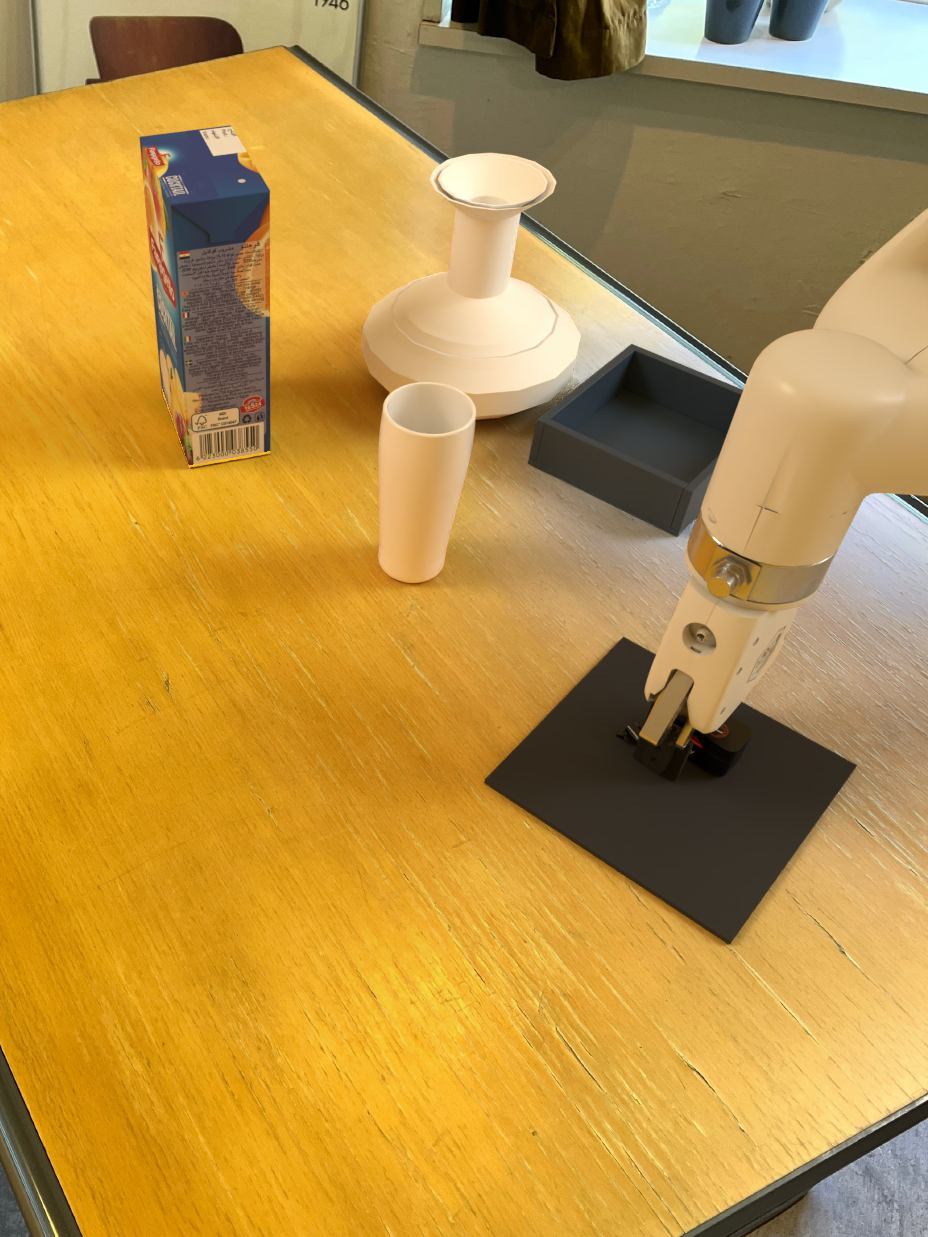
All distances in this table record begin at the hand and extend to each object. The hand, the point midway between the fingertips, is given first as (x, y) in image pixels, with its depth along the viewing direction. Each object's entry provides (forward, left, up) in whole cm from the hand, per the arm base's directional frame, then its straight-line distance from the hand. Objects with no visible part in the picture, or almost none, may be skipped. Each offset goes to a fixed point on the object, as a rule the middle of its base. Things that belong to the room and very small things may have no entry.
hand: (675, 742), depth 77 cm
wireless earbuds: (0, 0, -1) cm, 1 cm away
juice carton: (+50, -6, -1) cm, 50 cm away
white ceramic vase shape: (+37, -27, -1) cm, 46 cm away
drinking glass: (+25, -3, -1) cm, 25 cm away
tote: (+18, -28, -1) cm, 33 cm away
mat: (-1, +2, -1) cm, 2 cm away
